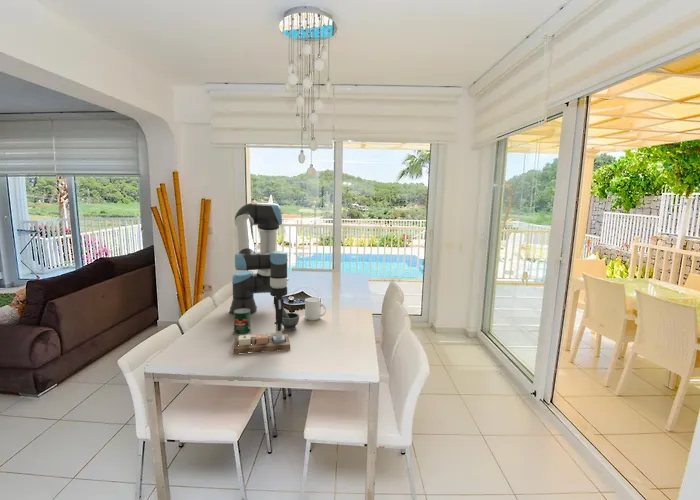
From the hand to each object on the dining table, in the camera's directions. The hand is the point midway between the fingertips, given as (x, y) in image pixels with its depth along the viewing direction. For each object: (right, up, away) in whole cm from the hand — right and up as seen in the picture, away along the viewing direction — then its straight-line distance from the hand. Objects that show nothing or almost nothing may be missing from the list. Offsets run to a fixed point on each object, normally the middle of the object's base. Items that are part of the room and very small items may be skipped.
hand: (279, 336), depth 160 cm
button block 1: (-15, -2, -4) cm, 15 cm away
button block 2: (-7, -2, -2) cm, 8 cm away
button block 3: (0, -3, +1) cm, 4 cm away
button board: (-7, -4, -2) cm, 9 cm away
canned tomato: (-21, -2, +15) cm, 26 cm away
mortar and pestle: (+1, -1, +21) cm, 21 cm away
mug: (+13, +1, +38) cm, 40 cm away
